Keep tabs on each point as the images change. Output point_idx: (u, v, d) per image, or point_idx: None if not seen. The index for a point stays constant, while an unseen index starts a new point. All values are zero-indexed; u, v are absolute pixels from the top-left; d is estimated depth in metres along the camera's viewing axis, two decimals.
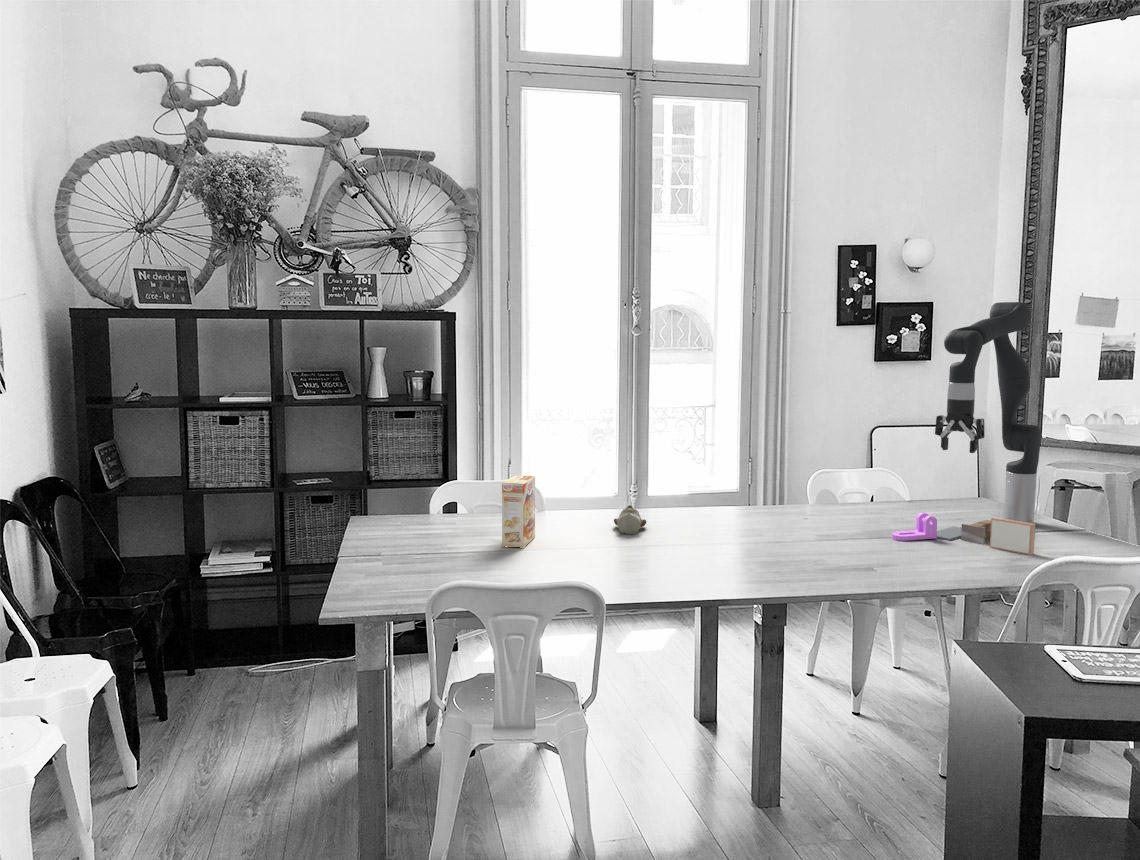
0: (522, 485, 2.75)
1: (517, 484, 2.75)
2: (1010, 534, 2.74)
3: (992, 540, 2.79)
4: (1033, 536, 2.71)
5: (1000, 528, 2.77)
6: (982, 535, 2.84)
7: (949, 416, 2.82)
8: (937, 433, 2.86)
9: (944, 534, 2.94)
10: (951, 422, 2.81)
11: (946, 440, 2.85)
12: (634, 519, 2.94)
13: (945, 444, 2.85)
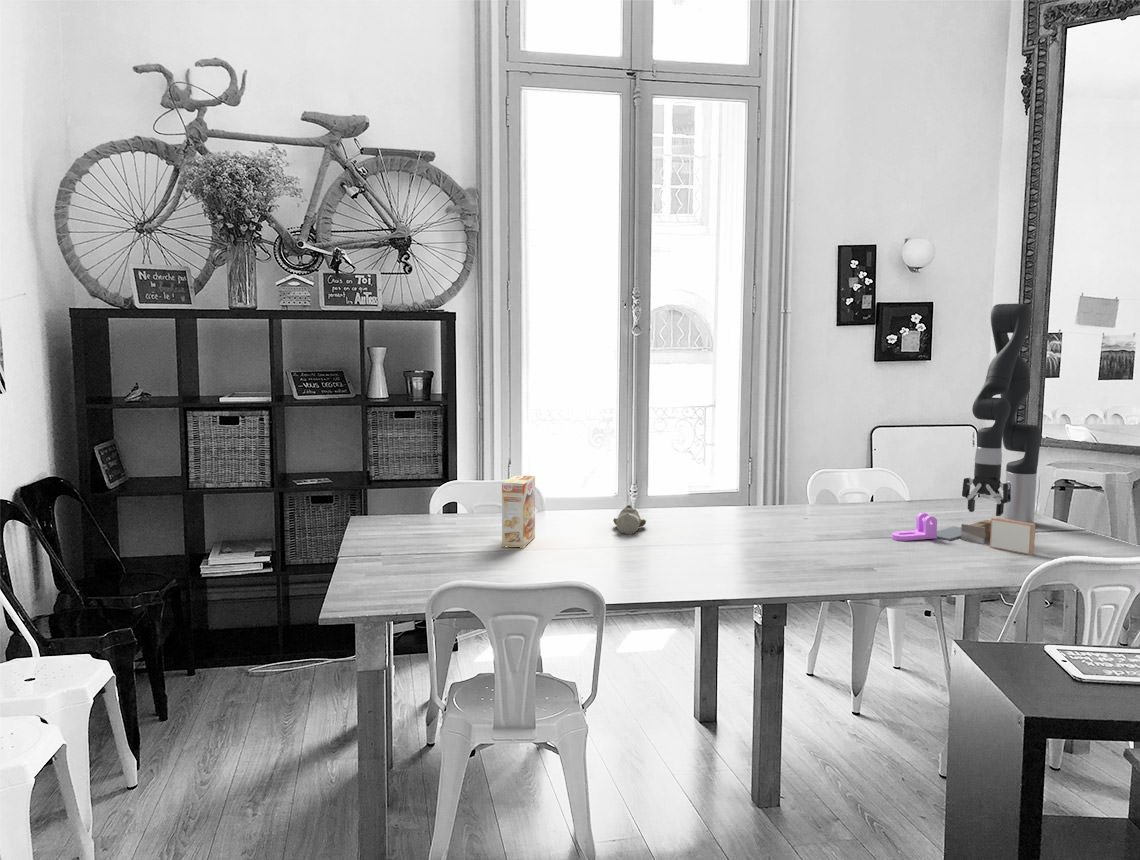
0: (522, 485, 2.75)
1: (517, 484, 2.75)
2: (1010, 534, 2.74)
3: (992, 540, 2.79)
4: (1033, 536, 2.71)
5: (1000, 528, 2.77)
6: (982, 535, 2.84)
7: (976, 479, 2.92)
8: (964, 495, 2.95)
9: (944, 534, 2.94)
10: (978, 485, 2.90)
11: (973, 502, 2.94)
12: (633, 519, 2.95)
13: (972, 506, 2.94)
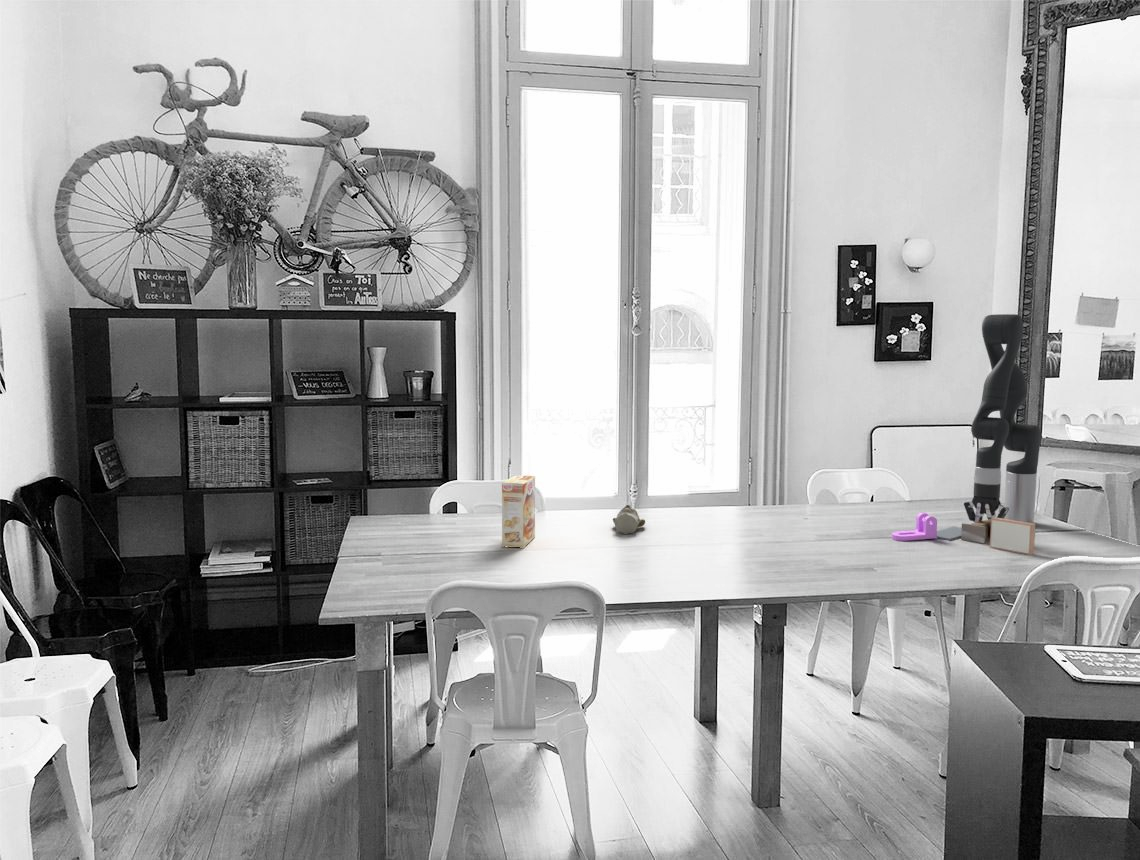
0: (522, 485, 2.75)
1: (517, 484, 2.75)
2: (1010, 534, 2.75)
3: (992, 540, 2.79)
4: (1033, 536, 2.71)
5: (1000, 528, 2.77)
6: (982, 534, 2.85)
7: (974, 498, 2.93)
8: (971, 518, 2.94)
9: (944, 534, 2.94)
10: (978, 505, 2.91)
11: None
12: (631, 519, 2.95)
13: None
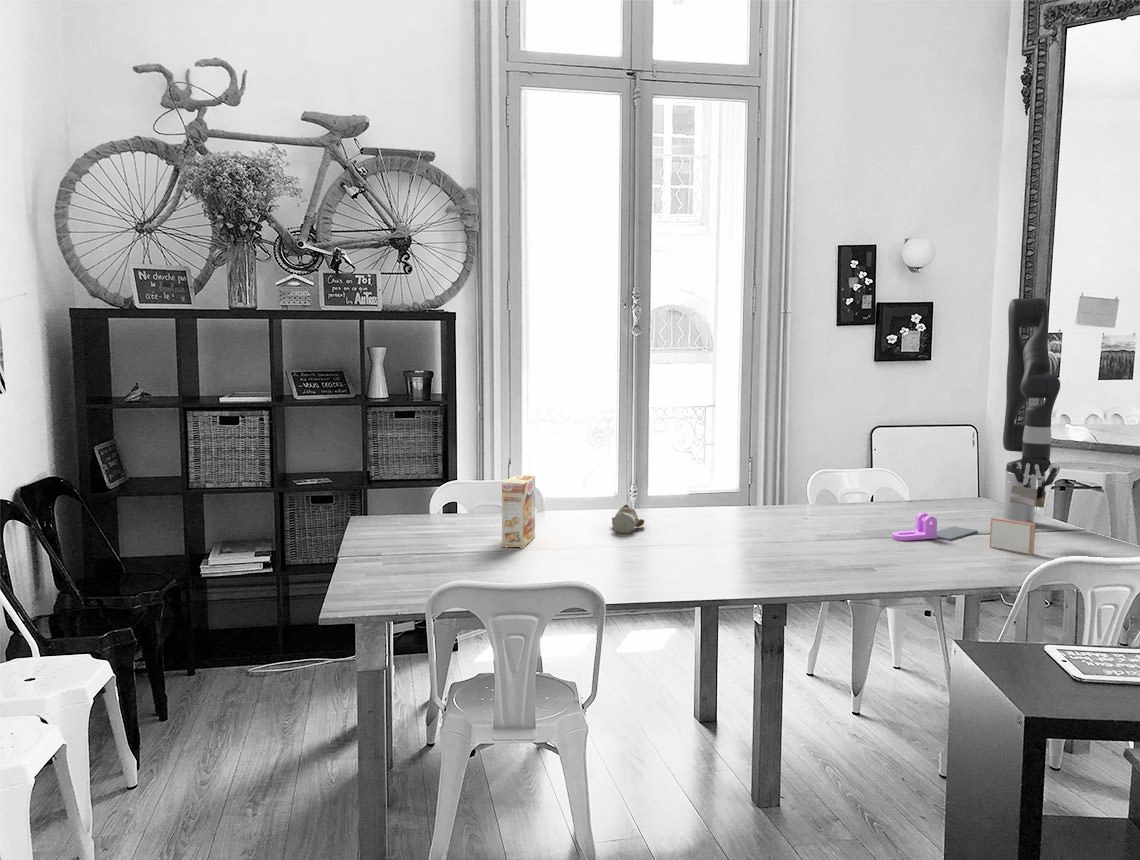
0: (522, 485, 2.75)
1: (517, 484, 2.75)
2: (1010, 534, 2.75)
3: (992, 540, 2.79)
4: (1033, 536, 2.71)
5: (1000, 528, 2.77)
6: (1033, 496, 2.76)
7: (1023, 459, 2.83)
8: (1019, 480, 2.84)
9: (944, 534, 2.94)
10: (1027, 466, 2.82)
11: (1029, 487, 2.84)
12: (628, 519, 2.95)
13: None
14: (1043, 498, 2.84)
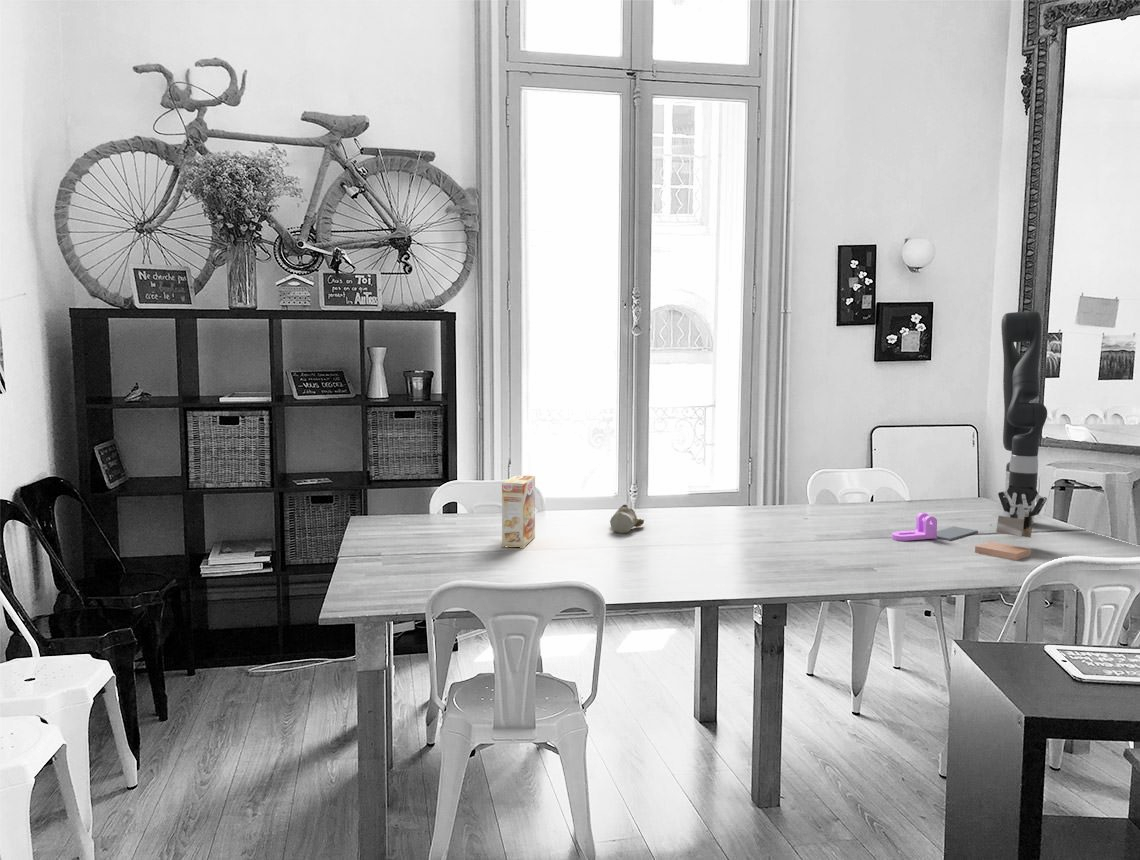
0: (522, 485, 2.75)
1: (517, 484, 2.75)
2: None
3: None
4: (1022, 554, 2.67)
5: None
6: (1020, 527, 2.71)
7: (1010, 488, 2.79)
8: (1006, 509, 2.80)
9: (944, 534, 2.94)
10: (1014, 495, 2.77)
11: (1015, 517, 2.79)
12: (626, 518, 2.96)
13: None
14: (1030, 528, 2.79)
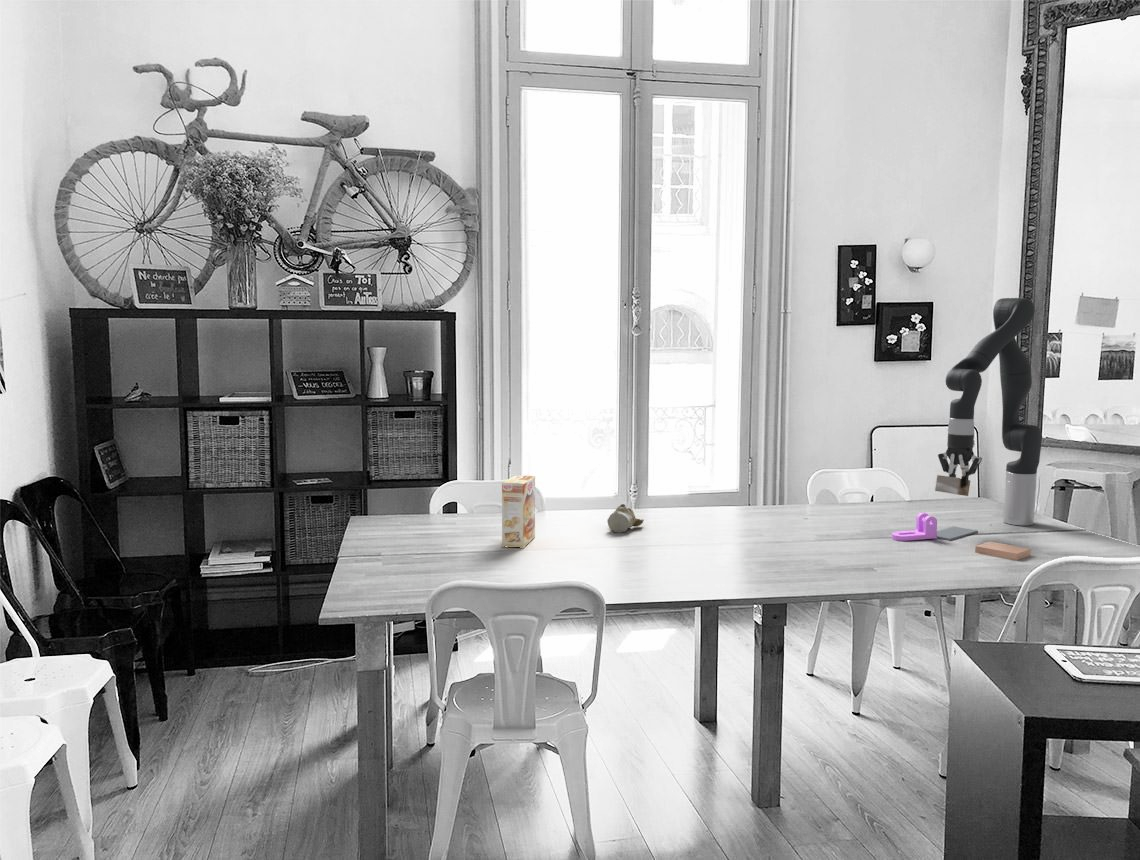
0: (522, 485, 2.75)
1: (517, 484, 2.75)
2: None
3: None
4: (1022, 554, 2.67)
5: None
6: (956, 485, 2.89)
7: (948, 449, 2.97)
8: (945, 470, 2.98)
9: (944, 534, 2.94)
10: (952, 456, 2.95)
11: None
12: (622, 518, 2.96)
13: None
14: (967, 487, 2.98)
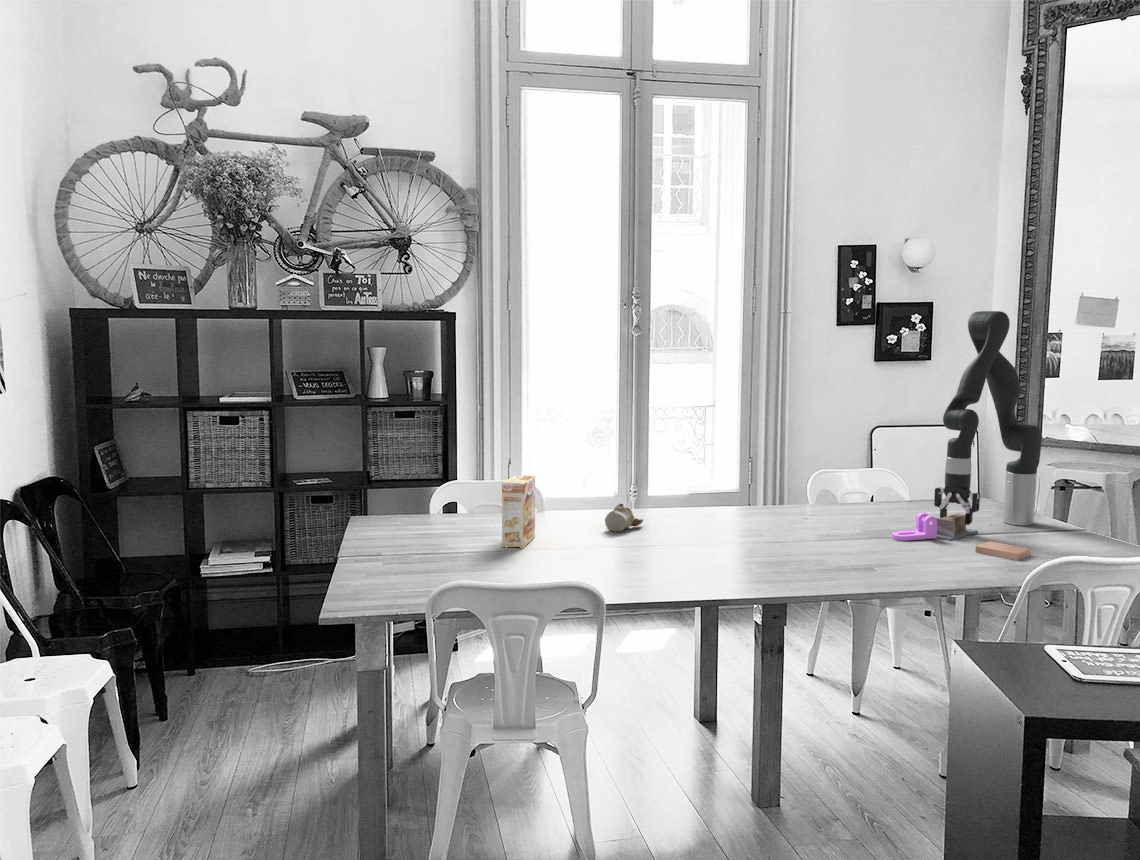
0: (522, 485, 2.75)
1: (517, 484, 2.75)
2: None
3: None
4: (1022, 554, 2.67)
5: None
6: (952, 528, 2.91)
7: (947, 488, 2.98)
8: (936, 504, 3.01)
9: None
10: (949, 494, 2.97)
11: (945, 511, 3.00)
12: (619, 517, 2.97)
13: (944, 515, 3.00)
14: (964, 522, 2.99)
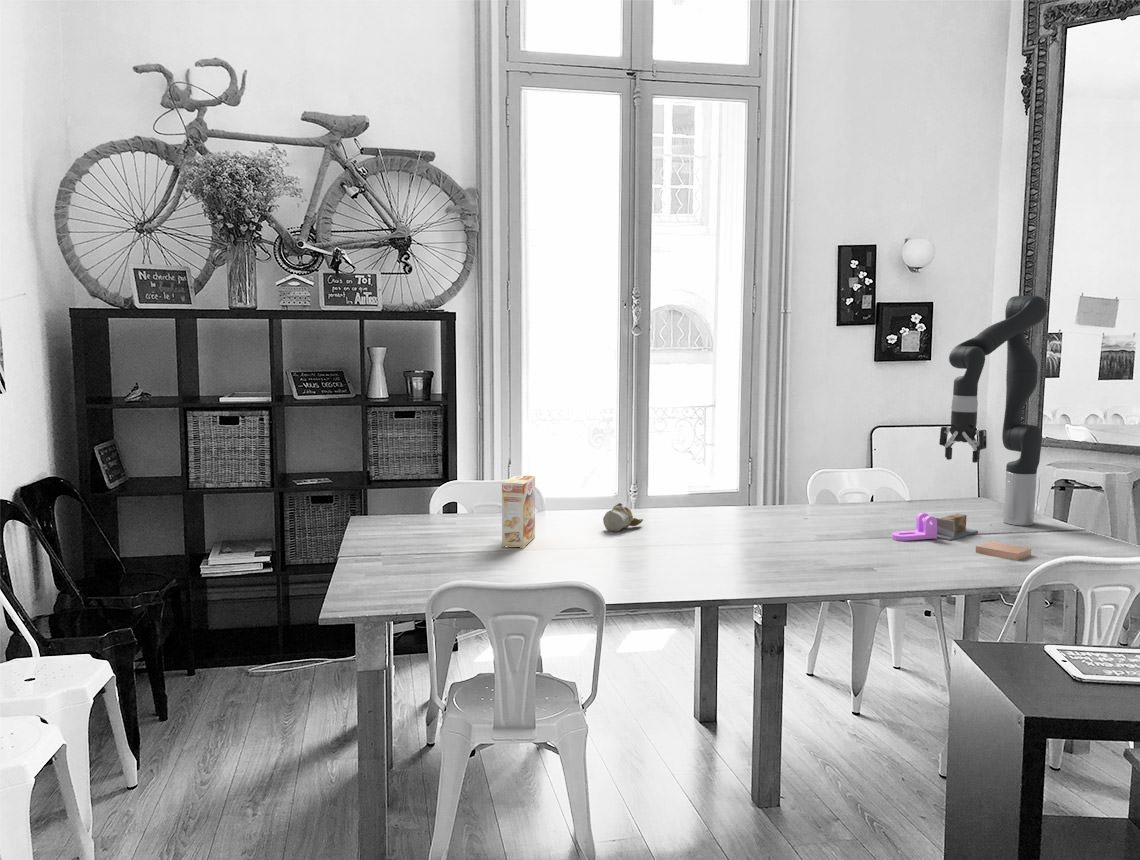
0: (522, 485, 2.75)
1: (517, 484, 2.75)
2: None
3: None
4: (1022, 554, 2.67)
5: None
6: (952, 528, 2.91)
7: (953, 427, 2.97)
8: (941, 443, 3.01)
9: None
10: (955, 433, 2.96)
11: (950, 450, 3.00)
12: (616, 517, 2.98)
13: (949, 454, 3.00)
14: (964, 522, 2.99)
